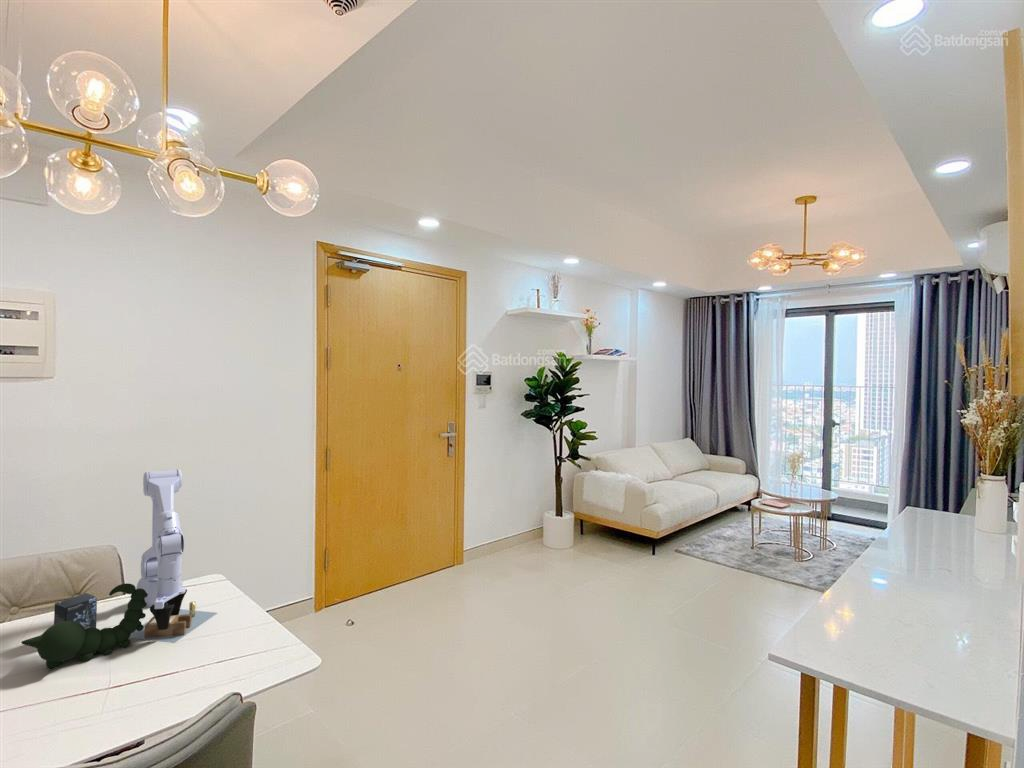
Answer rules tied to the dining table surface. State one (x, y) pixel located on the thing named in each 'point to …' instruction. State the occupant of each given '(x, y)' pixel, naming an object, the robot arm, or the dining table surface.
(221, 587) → the dining table surface
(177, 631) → the wooden holder
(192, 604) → the peg
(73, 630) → the toy figurine
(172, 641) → the board
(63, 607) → the box
